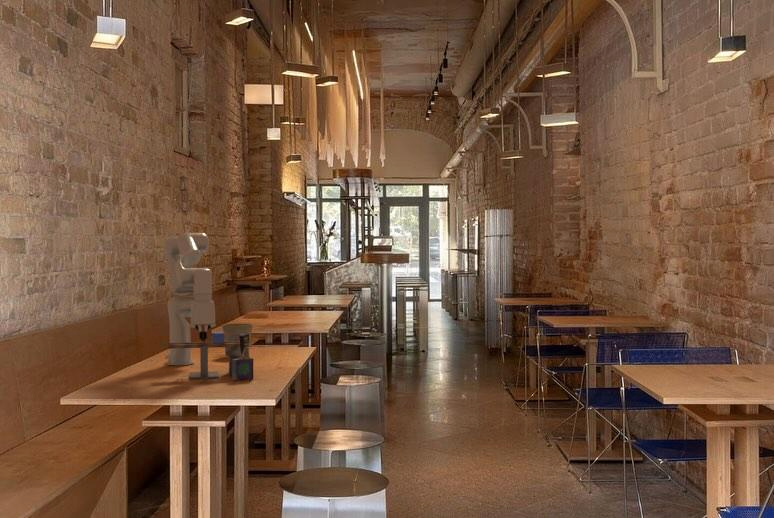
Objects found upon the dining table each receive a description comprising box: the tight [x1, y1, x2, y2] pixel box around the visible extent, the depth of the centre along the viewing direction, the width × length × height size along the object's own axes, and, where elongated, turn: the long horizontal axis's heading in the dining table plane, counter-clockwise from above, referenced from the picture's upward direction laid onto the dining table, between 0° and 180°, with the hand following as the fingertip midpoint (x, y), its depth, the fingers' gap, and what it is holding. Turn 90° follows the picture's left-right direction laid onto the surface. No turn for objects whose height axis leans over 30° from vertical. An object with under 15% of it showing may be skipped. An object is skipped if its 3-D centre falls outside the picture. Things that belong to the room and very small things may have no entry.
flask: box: [231, 354, 254, 382], centre depth 350 cm, size 9×3×11 cm, turn 121°
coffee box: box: [229, 334, 250, 359], centre depth 376 cm, size 9×6×16 cm
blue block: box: [211, 331, 225, 344], centre depth 359 cm, size 5×4×5 cm
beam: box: [166, 341, 240, 357], centre depth 358 cm, size 30×8×6 cm, turn 103°
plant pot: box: [222, 323, 253, 343], centre depth 423 cm, size 15×15×16 cm
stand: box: [189, 346, 236, 381], centre depth 359 cm, size 20×14×14 cm
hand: (203, 340), depth 358 cm, fingers closed
